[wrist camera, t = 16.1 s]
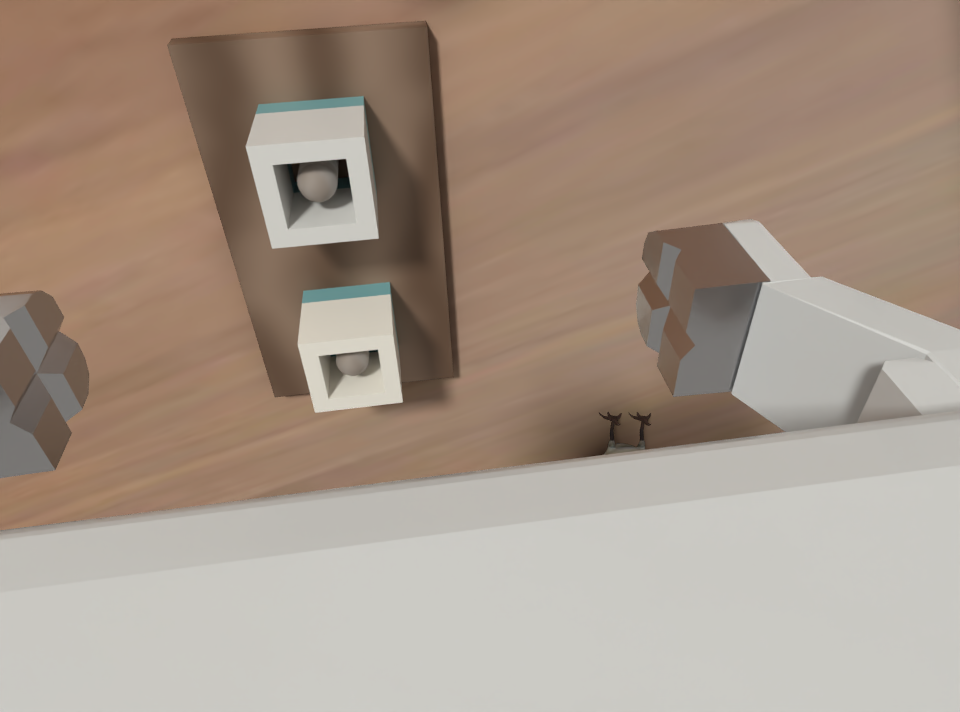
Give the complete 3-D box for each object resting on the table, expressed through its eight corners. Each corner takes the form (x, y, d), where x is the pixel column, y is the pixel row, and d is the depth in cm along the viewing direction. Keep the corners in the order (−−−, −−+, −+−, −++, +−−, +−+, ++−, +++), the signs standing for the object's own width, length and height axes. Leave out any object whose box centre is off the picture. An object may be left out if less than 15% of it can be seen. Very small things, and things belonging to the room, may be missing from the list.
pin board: (425, 21, 39) (435, 56, 34) (452, 367, 56) (461, 426, 51) (171, 38, 38) (143, 79, 33) (276, 387, 55) (267, 449, 50)
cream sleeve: (389, 282, 49) (393, 334, 44) (398, 348, 52) (402, 402, 48) (303, 290, 48) (297, 344, 43) (318, 356, 52) (315, 412, 47)
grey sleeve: (363, 96, 40) (364, 136, 36) (376, 190, 44) (378, 238, 39) (258, 104, 40) (245, 146, 35) (281, 199, 44) (272, 248, 39)
